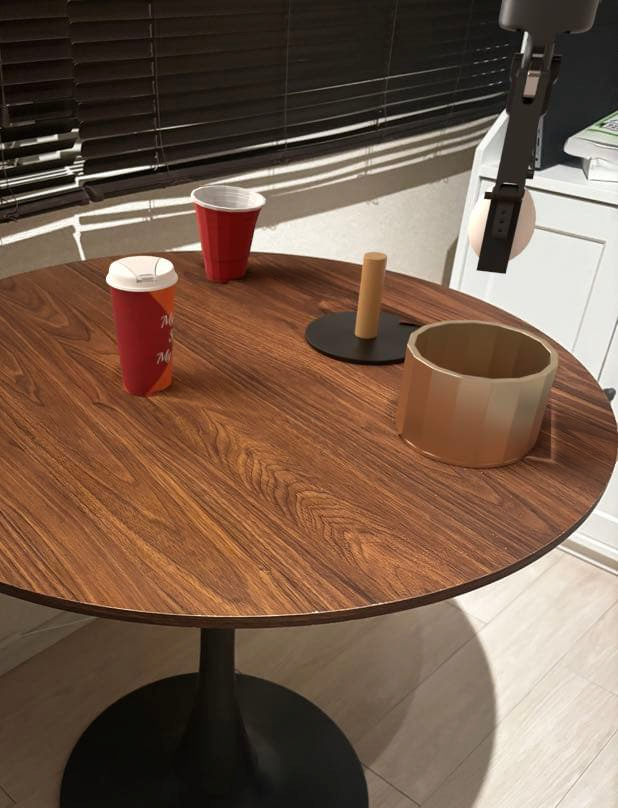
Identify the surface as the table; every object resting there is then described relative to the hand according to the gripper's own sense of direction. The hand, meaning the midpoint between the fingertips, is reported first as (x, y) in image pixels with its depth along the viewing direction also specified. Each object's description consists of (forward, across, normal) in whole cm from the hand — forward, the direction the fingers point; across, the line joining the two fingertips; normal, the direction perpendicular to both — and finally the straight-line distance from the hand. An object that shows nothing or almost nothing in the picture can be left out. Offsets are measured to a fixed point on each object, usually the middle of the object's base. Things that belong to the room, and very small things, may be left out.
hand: (494, 259), depth 79 cm
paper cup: (+17, +6, -35) cm, 40 cm away
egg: (+1, 0, 0) cm, 1 cm away
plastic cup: (+17, -31, -38) cm, 52 cm away
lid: (+16, -14, -14) cm, 26 cm away
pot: (+17, +4, +1) cm, 17 cm away
